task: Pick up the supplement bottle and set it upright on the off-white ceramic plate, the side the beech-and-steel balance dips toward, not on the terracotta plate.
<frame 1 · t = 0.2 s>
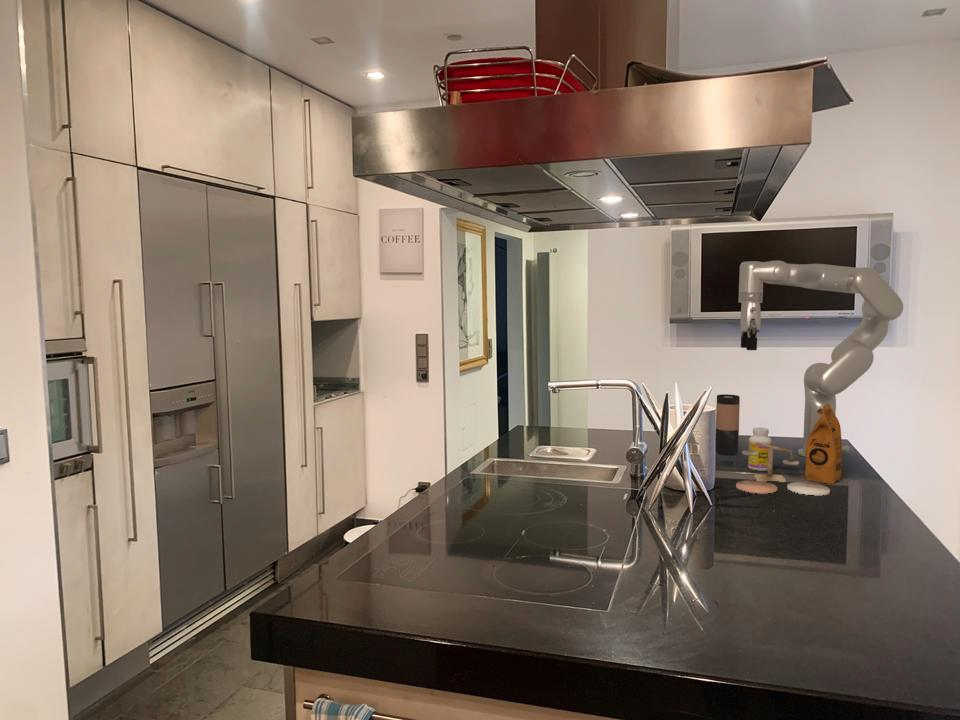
hand: (748, 348, 241), 36 cm above the worktop, tool pointing down, fingers open, 9 cm apart
plate offwhite: (808, 490, 201), on the worktop
travel mug: (726, 453, 246), on the worktop
plate terracotta: (756, 488, 203), on the worktop
coffee package: (822, 479, 213), on the worktop
supplement bottle: (759, 469, 225), on the worktop
balance: (769, 479, 212), on the worktop
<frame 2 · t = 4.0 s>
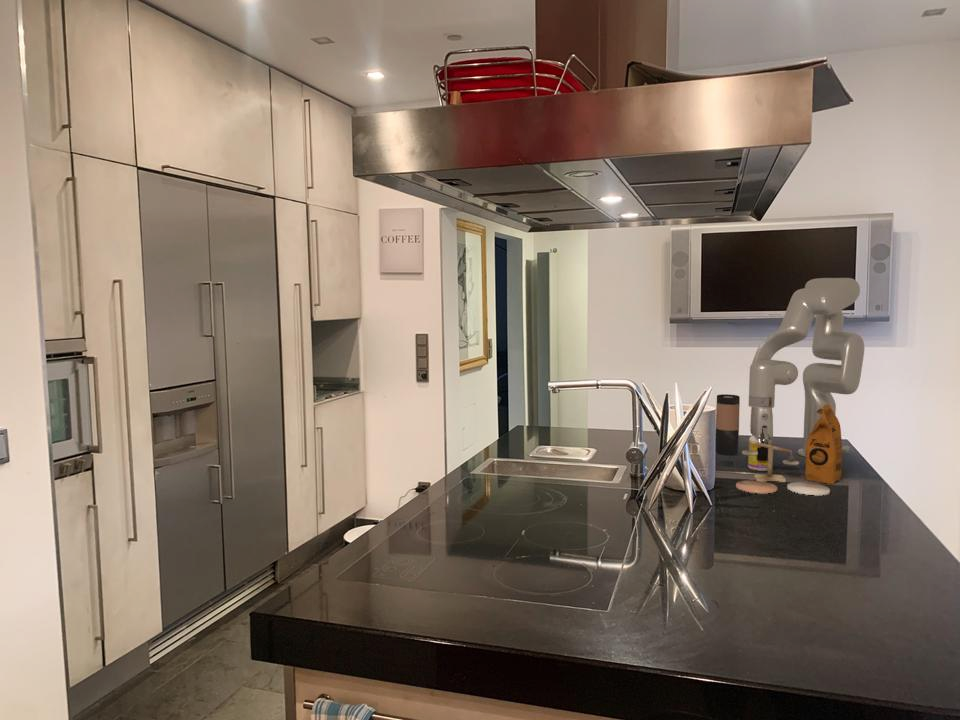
hand: (759, 457, 224), 4 cm above the worktop, tool pointing down, fingers closed on supplement bottle, 6 cm apart
supplement bottle: (759, 469, 225), on the worktop, touching gripper
everything else where it was.
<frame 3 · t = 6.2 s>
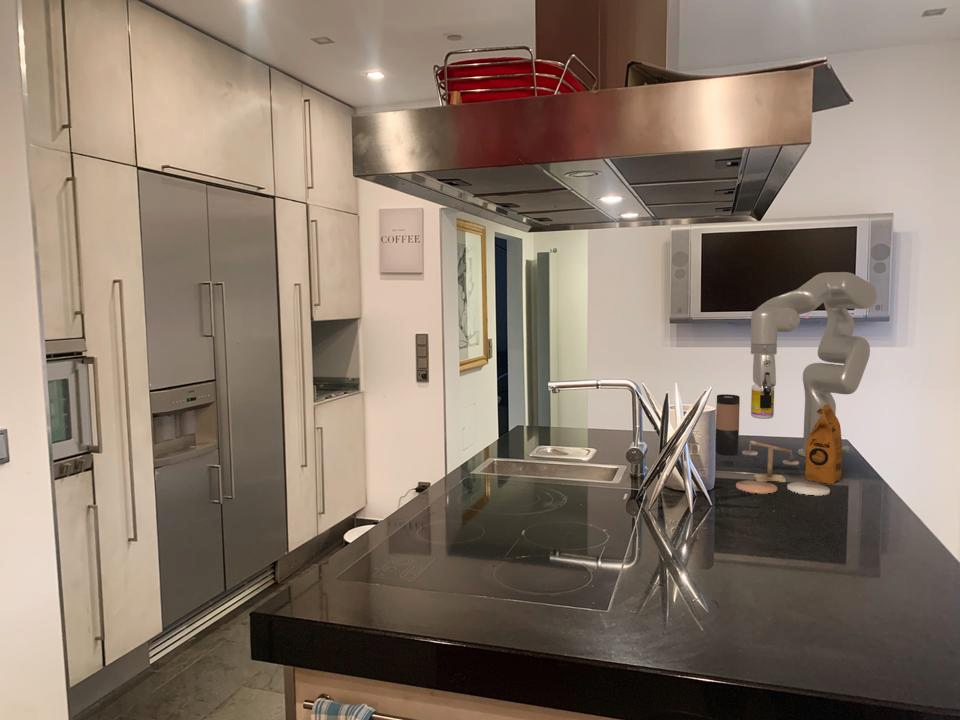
hand: (762, 405, 223), 20 cm above the worktop, tool pointing down, fingers closed on supplement bottle, 6 cm apart
supplement bottle: (762, 417, 223), point 16 cm above the worktop, touching gripper
everything else where it was.
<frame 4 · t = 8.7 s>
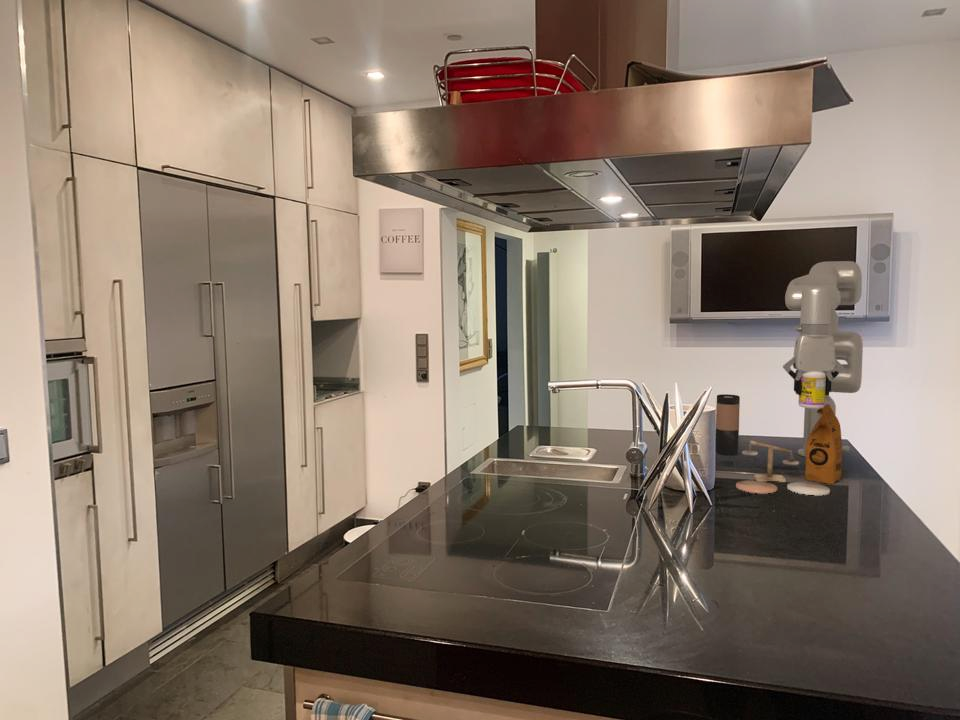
hand: (812, 393, 198), 28 cm above the worktop, tool pointing down, fingers closed on supplement bottle, 6 cm apart
supplement bottle: (811, 407, 199), point 24 cm above the worktop, touching gripper
everything else where it was.
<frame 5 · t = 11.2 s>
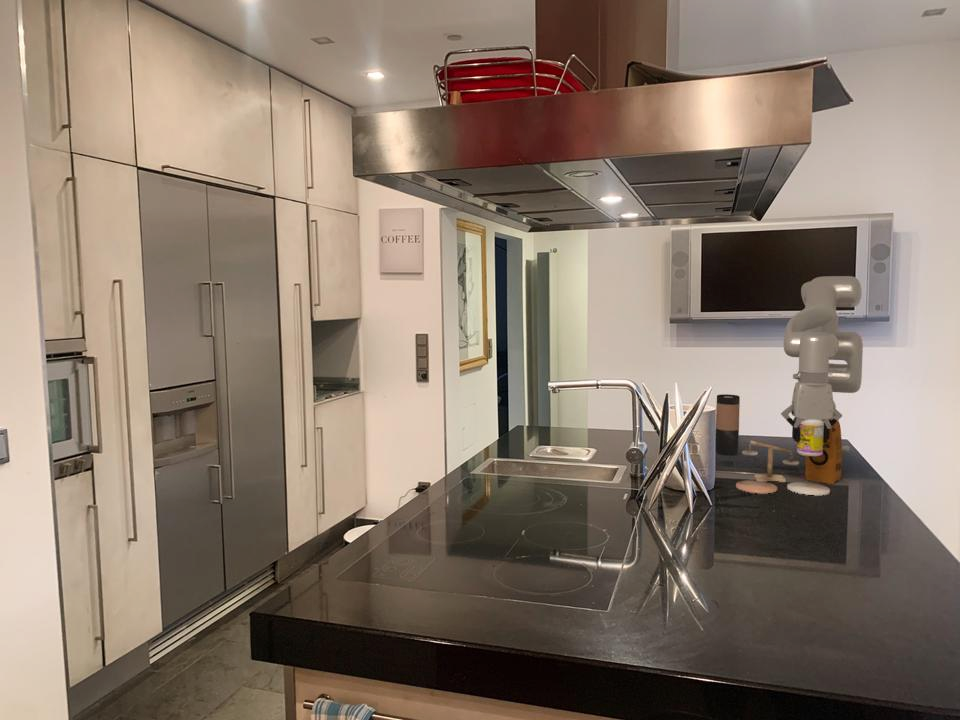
hand: (810, 441, 199), 14 cm above the worktop, tool pointing down, fingers closed on supplement bottle, 6 cm apart
supplement bottle: (809, 454, 200), point 10 cm above the worktop, touching gripper
everything else where it was.
when the fingers open (5 cm above the worktop, at t = 13.5 s): supplement bottle stays where it is, resting on plate offwhite.
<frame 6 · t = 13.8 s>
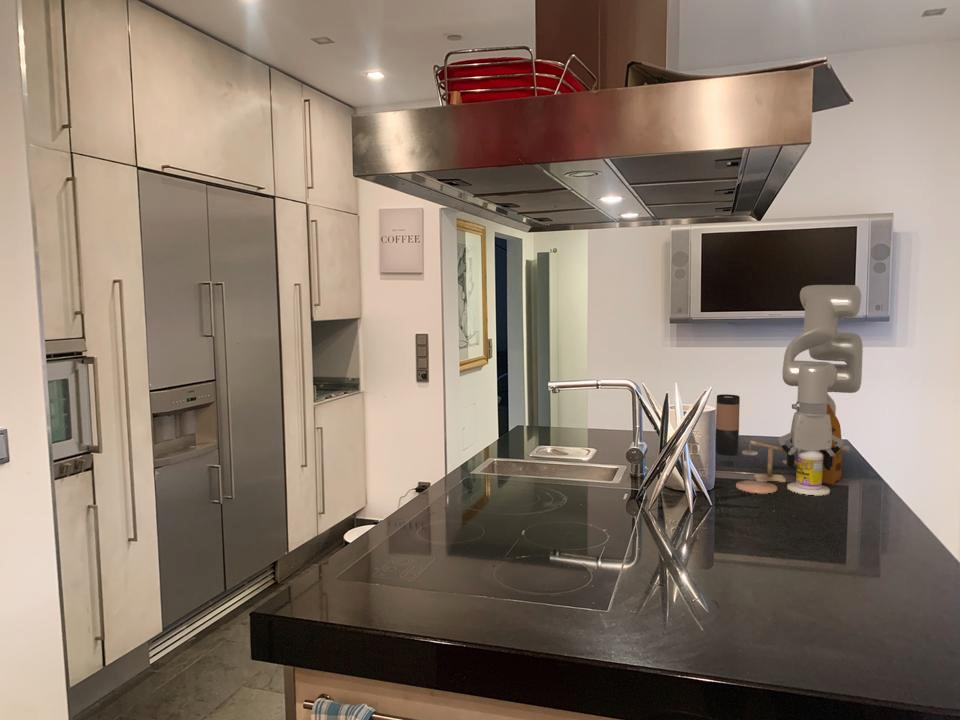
hand: (809, 468, 200), 6 cm above the worktop, tool pointing down, fingers open, 9 cm apart
supplement bottle: (808, 487, 201), point 1 cm above the worktop, touching plate offwhite
everything else where it was.
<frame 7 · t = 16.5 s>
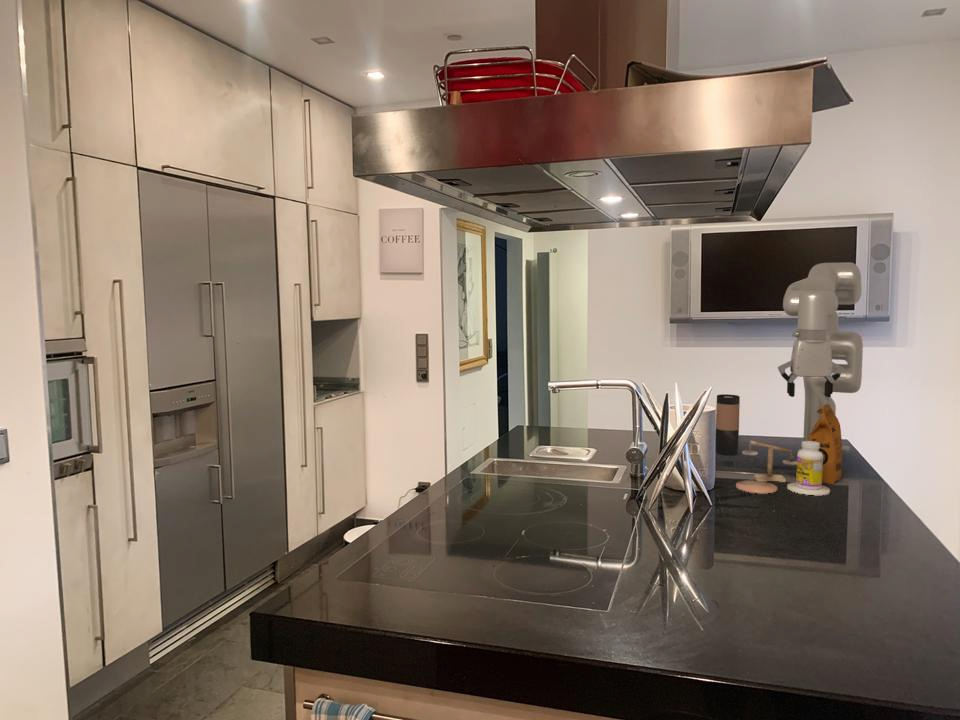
hand: (809, 396, 200), 27 cm above the worktop, tool pointing down, fingers open, 9 cm apart
nothing on the worktop moved.
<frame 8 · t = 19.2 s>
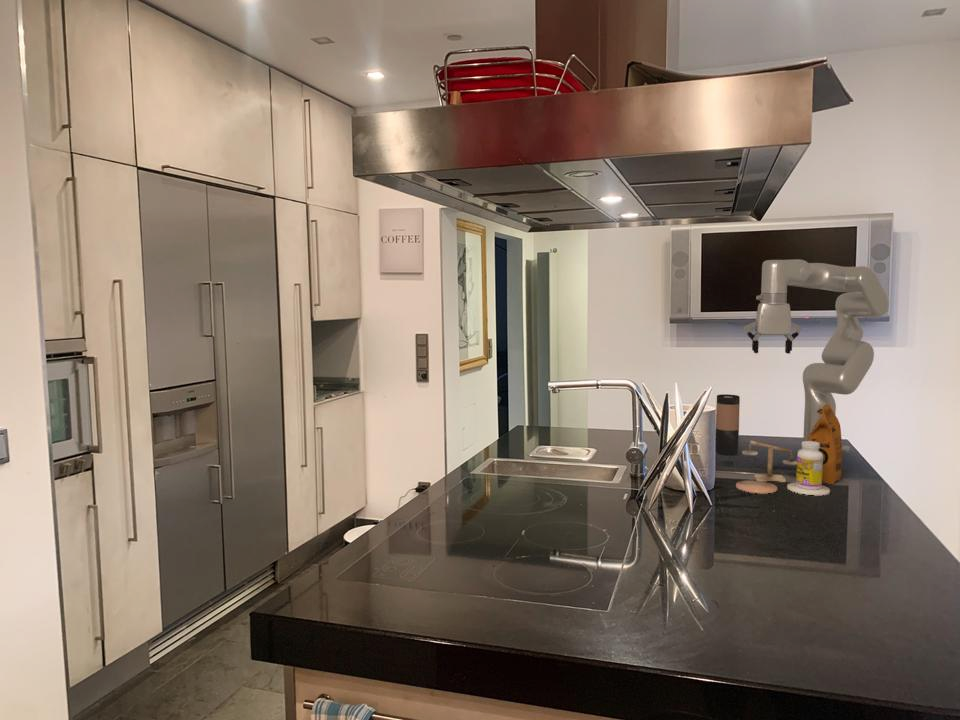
hand: (771, 353, 226), 36 cm above the worktop, tool pointing down, fingers open, 9 cm apart
nothing on the worktop moved.
at the end: supplement bottle 0.3 cm from the plate offwhite (horizontally); supplement bottle touching plate offwhite; supplement bottle tilted 0° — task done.
